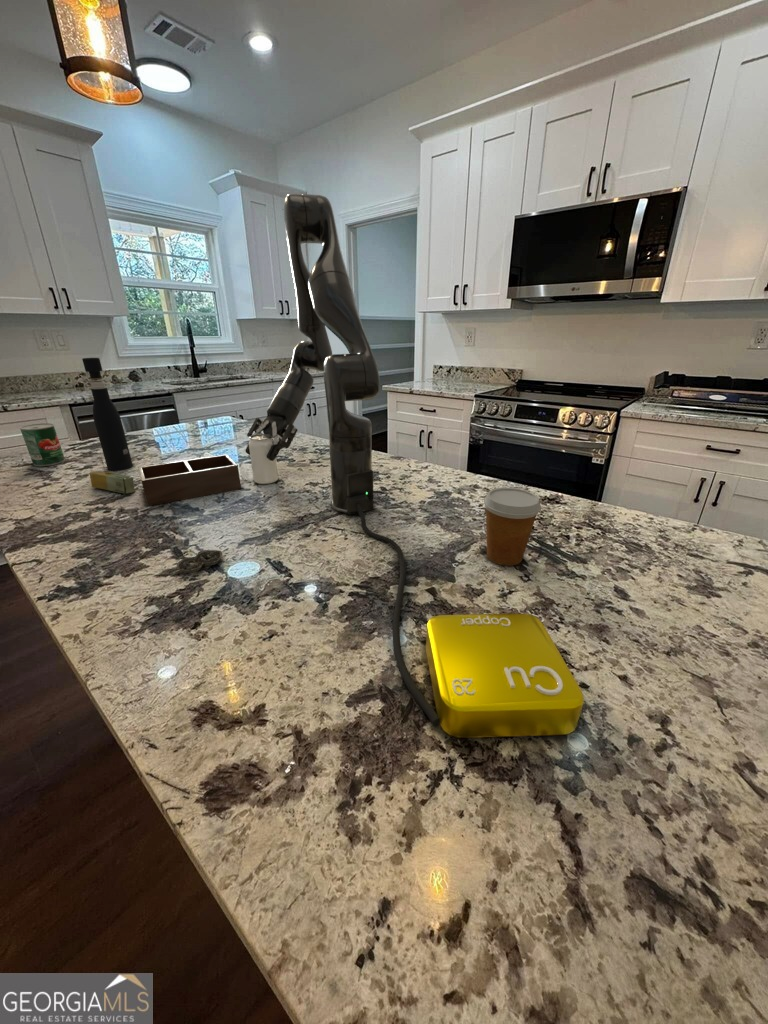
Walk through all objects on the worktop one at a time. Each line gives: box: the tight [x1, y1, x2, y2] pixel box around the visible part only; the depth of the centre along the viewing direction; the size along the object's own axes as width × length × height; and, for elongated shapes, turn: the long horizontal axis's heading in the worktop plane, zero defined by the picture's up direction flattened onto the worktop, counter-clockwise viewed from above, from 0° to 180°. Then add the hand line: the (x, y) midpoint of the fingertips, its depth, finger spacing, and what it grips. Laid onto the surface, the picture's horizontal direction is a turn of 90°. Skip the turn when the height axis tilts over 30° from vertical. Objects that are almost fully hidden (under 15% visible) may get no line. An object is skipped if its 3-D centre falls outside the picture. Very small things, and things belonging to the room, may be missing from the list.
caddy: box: [137, 453, 242, 507], centre depth 105 cm, size 11×21×6 cm, turn 122°
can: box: [248, 433, 279, 485], centre depth 110 cm, size 6×6×12 cm
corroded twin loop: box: [176, 549, 223, 573], centre depth 73 cm, size 5×8×1 cm, turn 139°
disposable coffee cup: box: [483, 487, 542, 567], centre depth 74 cm, size 10×10×12 cm
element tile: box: [425, 613, 585, 739], centre depth 49 cm, size 15×15×5 cm
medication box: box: [89, 470, 136, 495], centre depth 105 cm, size 12×3×4 cm, turn 70°
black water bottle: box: [81, 357, 134, 471], centre depth 116 cm, size 6×6×30 cm
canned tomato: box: [19, 422, 66, 467], centre depth 123 cm, size 8×8×11 cm
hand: (258, 456), depth 108 cm, fingers open, 7 cm apart
